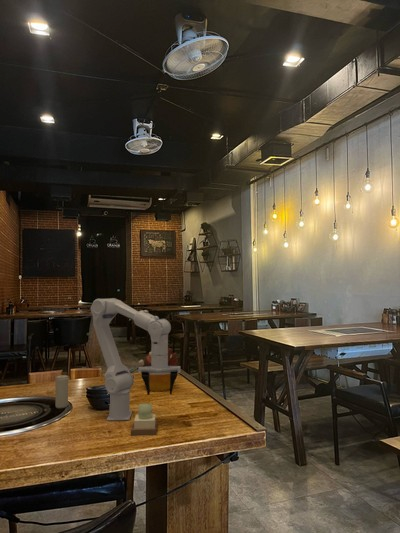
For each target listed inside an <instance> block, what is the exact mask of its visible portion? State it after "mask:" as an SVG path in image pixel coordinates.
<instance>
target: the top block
mask: <svg viewBox="0 0 400 533" xmlns="http://www.w3.org/2000/svg"><path fill="white" fill-rule="evenodd" d="M155 421H156V413H152V418H150V419H139V418H138V414H135V418H134V420H133V422H134V429H145V428H155Z"/></svg>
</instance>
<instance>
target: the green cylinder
mask: <svg viewBox="0 0 400 533" xmlns="http://www.w3.org/2000/svg"><path fill="white" fill-rule="evenodd" d="M137 409H138V412H137V415H138V418H139V419H150V418H152V414H153V412H152V411H153V404H152V403H150V402H149V403H148V402H143V403H140V404H138V408H137Z"/></svg>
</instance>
